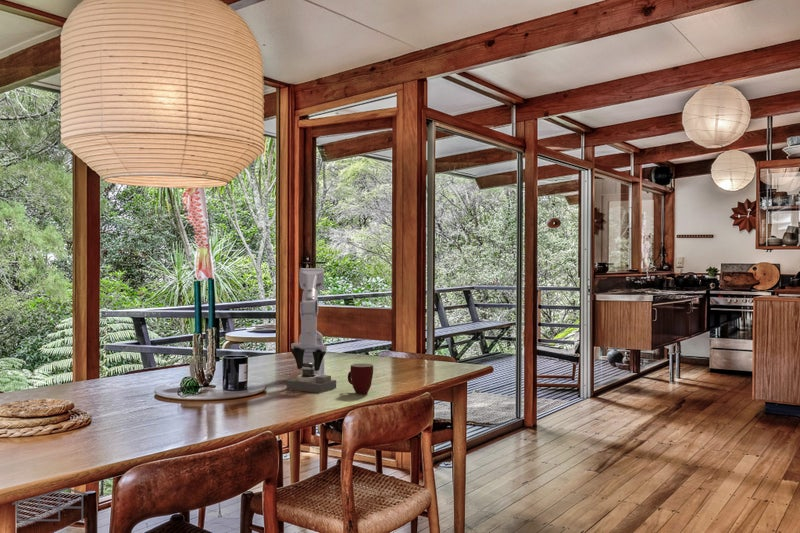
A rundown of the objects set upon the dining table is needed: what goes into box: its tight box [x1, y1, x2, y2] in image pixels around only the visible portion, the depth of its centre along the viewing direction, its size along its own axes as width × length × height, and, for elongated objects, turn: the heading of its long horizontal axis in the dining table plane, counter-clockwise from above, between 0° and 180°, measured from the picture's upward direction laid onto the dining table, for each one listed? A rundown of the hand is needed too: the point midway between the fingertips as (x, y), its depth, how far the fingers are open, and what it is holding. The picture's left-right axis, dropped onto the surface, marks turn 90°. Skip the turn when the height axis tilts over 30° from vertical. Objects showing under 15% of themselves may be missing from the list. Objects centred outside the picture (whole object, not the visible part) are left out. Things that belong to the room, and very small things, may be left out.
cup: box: [188, 357, 207, 378], centre depth 233 cm, size 8×8×10 cm
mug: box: [347, 363, 374, 395], centre depth 224 cm, size 10×8×10 cm
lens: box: [301, 362, 314, 377], centre depth 231 cm, size 5×5×6 cm
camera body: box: [286, 374, 337, 394], centre depth 231 cm, size 10×15×5 cm, turn 63°
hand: (308, 369), depth 231 cm, fingers open, 7 cm apart
